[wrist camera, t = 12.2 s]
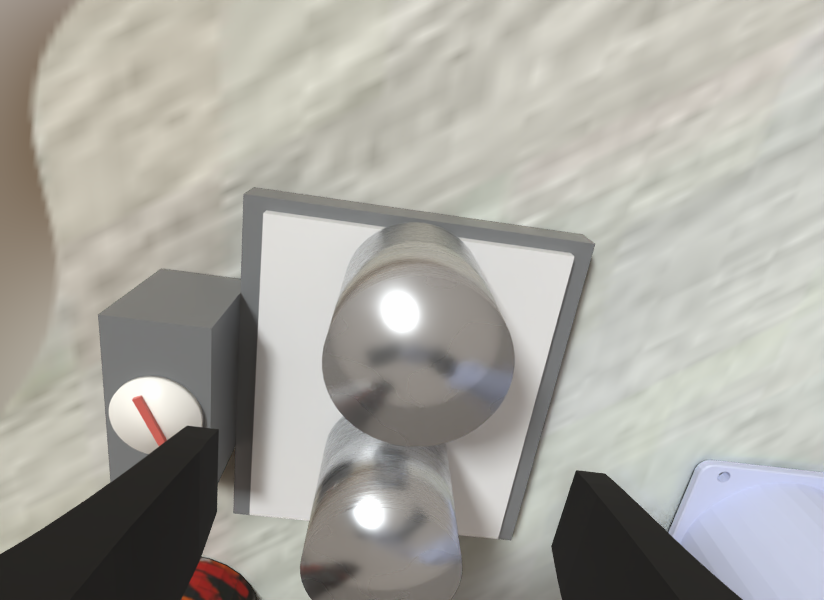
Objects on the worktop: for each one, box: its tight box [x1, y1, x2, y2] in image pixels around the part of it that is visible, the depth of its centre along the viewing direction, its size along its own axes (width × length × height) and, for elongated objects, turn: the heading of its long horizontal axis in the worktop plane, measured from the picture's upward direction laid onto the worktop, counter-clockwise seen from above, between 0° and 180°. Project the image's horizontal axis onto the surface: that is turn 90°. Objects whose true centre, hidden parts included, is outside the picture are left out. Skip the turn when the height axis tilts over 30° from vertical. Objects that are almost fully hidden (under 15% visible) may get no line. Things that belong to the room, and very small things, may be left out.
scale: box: [98, 187, 595, 540], centre depth 17 cm, size 14×12×4 cm
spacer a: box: [300, 416, 462, 600], centre depth 17 cm, size 4×4×5 cm
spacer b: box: [322, 222, 515, 447], centre depth 14 cm, size 4×4×5 cm
